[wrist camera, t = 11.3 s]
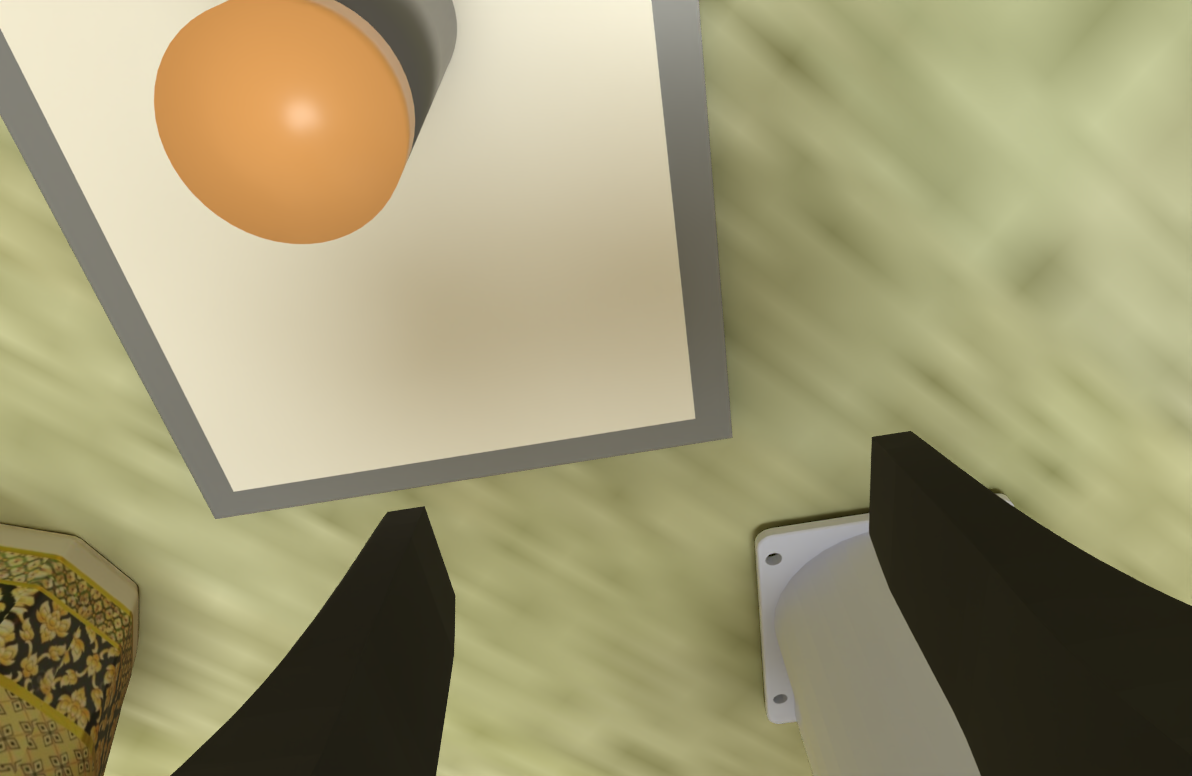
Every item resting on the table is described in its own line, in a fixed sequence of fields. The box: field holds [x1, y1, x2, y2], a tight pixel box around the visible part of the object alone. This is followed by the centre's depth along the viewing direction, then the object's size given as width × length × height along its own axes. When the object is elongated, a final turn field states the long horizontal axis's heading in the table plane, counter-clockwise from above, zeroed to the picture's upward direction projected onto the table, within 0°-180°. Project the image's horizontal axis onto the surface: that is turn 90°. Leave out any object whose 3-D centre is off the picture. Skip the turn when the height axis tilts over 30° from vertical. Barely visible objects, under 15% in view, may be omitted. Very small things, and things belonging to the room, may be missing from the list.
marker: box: [154, 0, 457, 244], centre depth 14 cm, size 3×3×8 cm
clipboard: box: [0, 0, 732, 519], centre depth 18 cm, size 20×15×2 cm
